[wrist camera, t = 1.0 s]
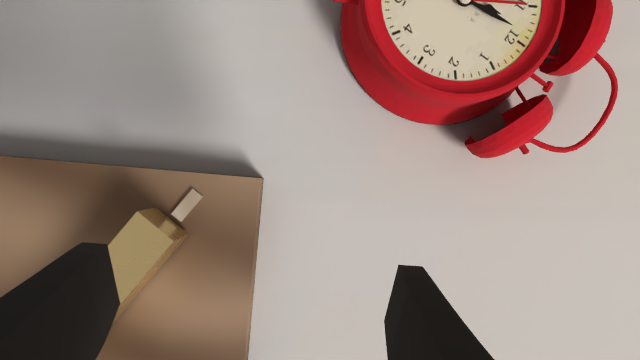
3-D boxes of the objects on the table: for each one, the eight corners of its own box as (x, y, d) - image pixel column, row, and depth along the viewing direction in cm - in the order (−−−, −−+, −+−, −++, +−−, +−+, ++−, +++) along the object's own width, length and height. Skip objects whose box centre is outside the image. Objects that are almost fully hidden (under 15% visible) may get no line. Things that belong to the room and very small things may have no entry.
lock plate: (235, 498, 22) (229, 526, 20) (-155, 474, 21) (-196, 500, 19) (263, 178, 22) (259, 178, 20) (-127, 144, 21) (-165, 141, 19)
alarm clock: (412, -178, 18) (752, -25, 15) (405, -76, 24) (646, 48, 21) (279, 11, 18) (596, 203, 15) (306, 66, 24) (535, 211, 21)
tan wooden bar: (34, 437, 19) (-1, 470, 17) (-19, 394, 19) (-61, 422, 17) (198, 242, 20) (184, 250, 17) (146, 199, 20) (126, 202, 17)
